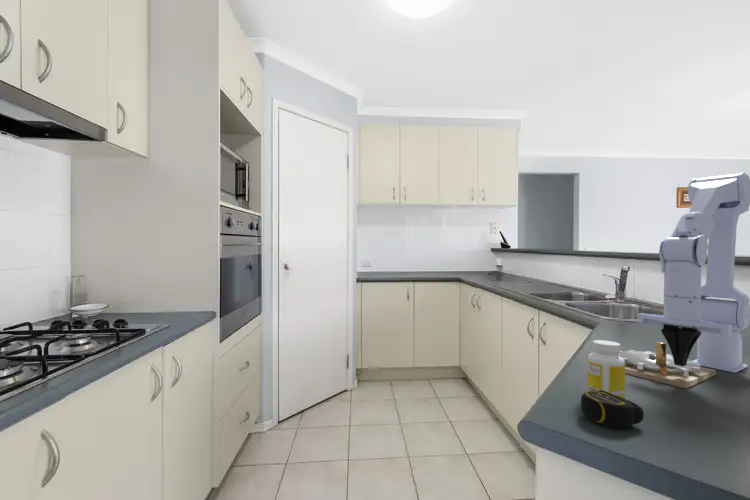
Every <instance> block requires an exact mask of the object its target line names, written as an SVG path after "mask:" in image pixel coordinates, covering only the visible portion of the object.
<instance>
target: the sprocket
mask: <svg viewBox="0 0 750 500" xmlns="http://www.w3.org/2000/svg"><path fill="white" fill-rule="evenodd" d="M667 344H668V342H667V343H666V342H661V341H656V342H655V352H652V351H649V350H645V351H636V350H632V349H628V350H626V351H623V350H621V351H620V353H619V356H620V357H622V358H623V359H624V361H625V365H631V366H634V367H637V369H640V370H645V369H646V370H651V371H656V372H660V373H661V374H667V373H672V374H680V375H683V376H689V373H693V374H698V375H699V374H700V371H701V367H702V366H701V365H700V364H697V363H692V362H690V361H691V359H689V358H688V360H687V365H685V366H678V365H674V359H673V356H672V354H669V353H667V352H668V350H667V349H668V345H667Z"/></svg>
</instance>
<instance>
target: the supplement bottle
mask: <svg viewBox="0 0 750 500" xmlns="http://www.w3.org/2000/svg"><path fill="white" fill-rule="evenodd" d="M592 350H594V351H593V352H591V353H589V355H588V357H587V359H588V360H587V391H600V390H603V391H606V392H608V393H611V394H613V395H616V396H619V397H622V398H624V399H626V395H625V394H626V393H625V392H626V390H625V389H626V373H625V361H624V359H623V358H622V357H620V356H619V353H620V351H622V350H621V344H620V343H619V342H616V341H612V340H611V341H610V340H602V339H595V340H593V341H592Z"/></svg>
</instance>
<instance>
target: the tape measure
mask: <svg viewBox="0 0 750 500" xmlns="http://www.w3.org/2000/svg"><path fill="white" fill-rule="evenodd" d="M580 398H581V399H580V405H581V407H580V409H581V413H582V414H583V415H584V416H585V417H586V418H587V419H589V420H591V421H593V422H595V423H598V424H600V425H603V426H605V427H611V428H612V427H613V428H621V429H622V428H623V429H624V428H629V427H631V426H633V425H637V424H640V423H641V422H642V421H643V420H644V416H645V415H644V413H645V412H644V410H643V408H642V407H641V406H640V405H639V404H636V403H635V402H632V401H631V400H628V399H626V398H625V399H624V398H622V397H619V396H616V395H613V394H611V393H608V392H606V391H603V390H600V391H588V390H587V391H585V392H584V393H582V395H581V397H580Z"/></svg>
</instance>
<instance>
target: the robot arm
mask: <svg viewBox="0 0 750 500" xmlns="http://www.w3.org/2000/svg"><path fill="white" fill-rule="evenodd" d="M687 186H688V187H687V195H688V196H687V197H688V200H689V202H690V203H691V206H690V209H689V212H687V213H685V214H683V215H682V216H681V217H680V218H679V220H678V222H677V224H676V225H675V228H674V230H673V232H672V233H671V236H669V237H666V239H663V240H661V242H660V246H659V251H658V254H659V255H658V256H659V260H660V265H661V267H660V268H661V269H660V270H661V273H663V275H664V276H663V314H655V313H654V314H653V313H644V312H641V313H639V312H638V313H637V323H639V324H649V325H656V326H663V327H662V328H661V329H660V330H661V334H662V335H663V338H664V339H665V341H666V342H667V344H668V345H667V346H668V347H669V349H670V352H671V355H672V356H673V359H674V365H678V366H685V365H687V360H688V359H689V356H690V353H691V352H692V349H693V348H694V345H695V344H697V346H696V348H697V349H696V353H697V354H696V355H697V356H696V359H693V360H690V362H692V363H697V364H700V365H701V367H704V368H709V369H714V370H721V371H725V372H729V373H736V374H737V373H738V372H740V371H742V370H744V369H746V368H748V364H745V363H743V338H742V336H741V331H743V330H745V329H747V328H748V327H749V326H750V297H749V296H748V294H746V293H745V292H743V291H742V290H740V289H739V288H737V287H735V286H734V280H735V279H734V277H735V276H734V275H735V261H736V260H735V259H736V245H737V244H736V241H737V228H738V227H737V226H738V221H739V217H740V215H742V214H744V213H746V212H748V211H749V210H750V209H749V208H750V175H748V174H747V173H746V172H744V171H743V172H740V173H735V174H733V173H732V174H724V175H717V176H707V177H701V178H699V177H694V178H692V179H691V180H690V181H689V183H688V185H687ZM705 263H707V264H706V276H705V278H706V279H705V284H704V285H702V267H703V266H704V265H705ZM719 298H720V299H719ZM727 299H732V300H727ZM696 342H697V343H696Z"/></svg>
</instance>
